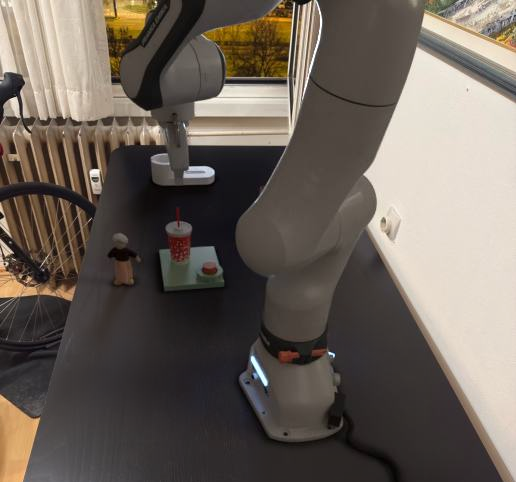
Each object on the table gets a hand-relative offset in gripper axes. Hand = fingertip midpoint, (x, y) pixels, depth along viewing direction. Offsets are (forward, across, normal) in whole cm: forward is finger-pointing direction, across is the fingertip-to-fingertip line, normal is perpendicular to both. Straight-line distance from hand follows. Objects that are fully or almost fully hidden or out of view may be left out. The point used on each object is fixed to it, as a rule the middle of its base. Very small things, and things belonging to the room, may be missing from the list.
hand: (176, 174), depth 103 cm
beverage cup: (+22, 0, 0) cm, 22 cm away
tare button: (+21, -7, -6) cm, 23 cm away
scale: (+23, -2, -2) cm, 23 cm away
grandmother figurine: (+23, -5, +14) cm, 28 cm away
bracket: (+23, +50, -6) cm, 55 cm away
